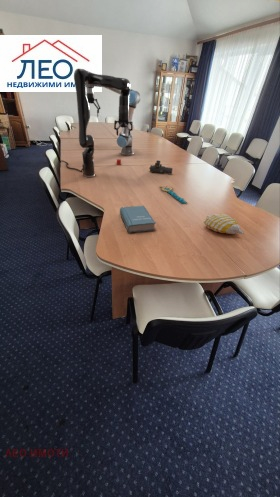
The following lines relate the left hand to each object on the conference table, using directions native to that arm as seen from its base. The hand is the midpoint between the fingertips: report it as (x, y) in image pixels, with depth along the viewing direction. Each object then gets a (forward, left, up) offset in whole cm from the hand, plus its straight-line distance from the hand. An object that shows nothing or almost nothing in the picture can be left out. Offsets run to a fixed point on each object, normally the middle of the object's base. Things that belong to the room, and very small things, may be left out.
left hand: (123, 136), depth 174 cm
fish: (+95, -37, -36) cm, 108 cm away
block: (-29, +39, -36) cm, 60 cm away
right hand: (-80, +64, +2) cm, 103 cm away
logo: (+50, -3, -36) cm, 61 cm away
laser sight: (+19, +41, -36) cm, 58 cm away
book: (+46, -58, -36) cm, 82 cm away
